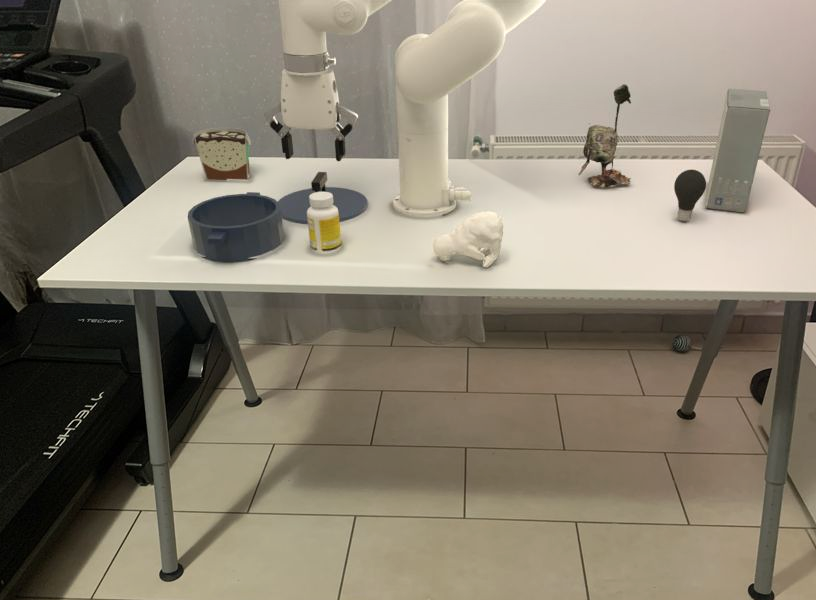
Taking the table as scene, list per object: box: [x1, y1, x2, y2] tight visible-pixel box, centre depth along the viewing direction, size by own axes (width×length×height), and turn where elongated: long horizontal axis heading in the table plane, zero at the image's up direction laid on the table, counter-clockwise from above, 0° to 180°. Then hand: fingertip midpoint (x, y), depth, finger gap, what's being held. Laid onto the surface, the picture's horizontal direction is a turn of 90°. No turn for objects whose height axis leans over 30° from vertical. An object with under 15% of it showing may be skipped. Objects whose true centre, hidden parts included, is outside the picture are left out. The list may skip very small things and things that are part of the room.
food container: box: [192, 127, 252, 182], centre depth 155 cm, size 12×6×10 cm, turn 84°
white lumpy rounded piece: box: [432, 211, 504, 269], centre depth 120 cm, size 6×8×12 cm
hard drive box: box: [705, 88, 771, 213], centre depth 141 cm, size 16×8×20 cm, turn 162°
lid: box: [277, 171, 369, 225], centre depth 140 cm, size 18×18×6 cm
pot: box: [187, 191, 286, 263], centre depth 126 cm, size 16×21×6 cm
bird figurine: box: [577, 83, 632, 188], centre depth 148 cm, size 8×11×20 cm
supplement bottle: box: [307, 192, 342, 254], centre depth 124 cm, size 5×5×10 cm
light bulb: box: [673, 169, 707, 223], centre depth 133 cm, size 6×6×10 cm
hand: (314, 158), depth 136 cm, fingers open, 9 cm apart
